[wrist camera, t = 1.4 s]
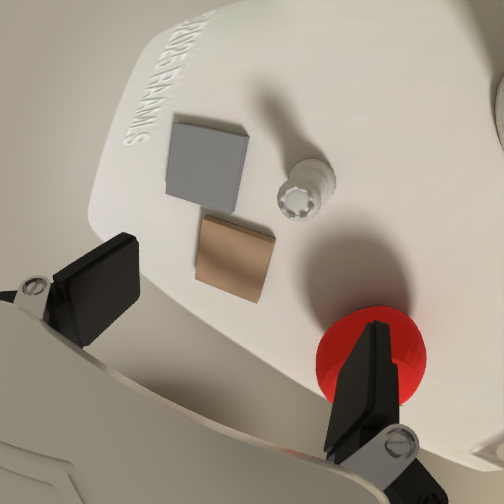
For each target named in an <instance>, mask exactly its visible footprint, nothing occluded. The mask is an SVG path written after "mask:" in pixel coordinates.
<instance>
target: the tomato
mask: <svg viewBox="0 0 504 504" xmlns="http://www.w3.org/2000/svg"><path fill="white" fill-rule="evenodd" d="M374 320H378V321H381V322H385V323H388V324H389V325H390V336H391V351H392V362H393V363H396V364H397V366H398V378H399V406H402V405H401V404H403V403H404V402H406V401H407V400H408V399H409V398H410V397H411V396H412V395H413V394H414V392H415V391H416V389H417V388H418V386H419V384H420V382H421V380H422V377H423V375H424V372H425V368H426V359H427V357H426V348H425V345H424V342H423V339H422V336H421V333H420V331H419V330H418V328H417V326H416V324H415V323H414V322H413V320H412V319H411V318H410V317H408V316H407V315H406V314H405V313H403V312H401V311H399V310H397V309H395V308H392V307H387V306H374V307H369V308H364V309H361V310H358V311H355V312H353V313H351V314H349V315H347V316H345V317H344V318H342V319H340V320H339V321H337V322H336V323H335V324H333V325H332V326H331V327H330V328H329V329H328V330H327V331H326V333H325V334H324V336H323V337H322V339H321V340H320V343H319V346H318V350H317V354H316V375H317V380H318V385H319V387H320V389H321V391H322V392H323V394H324V395H325V397H326V398H327V399H328V401H329V402H331V403H332V404H333V400H334V395H335V389H336V383H337V377H338V374H339V371H340V369H341V367H342V366H343V364H344V362H345V361H346V359H347V358H348V356H349V354H350V352H351V351H352V349H353V347H354V346H355V344H356V342H357V340H358V339H359V337H360V335H361V333H362V331H363V330H364V328H365V326H366V324H367V323H368V322H371V323H372V322H373V321H374Z"/></svg>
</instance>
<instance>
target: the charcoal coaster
mask: <svg viewBox="0 0 504 504" xmlns="http://www.w3.org/2000/svg"><path fill="white" fill-rule="evenodd" d="M248 141H249V136H245V135H240V134H236V133H232V132H227V131H222V130H218V129H213V128H208V127H202V126H197V125H192V124H186V123H174V125H173V132H172V139H171V147H170V155H169V164H168V173H167V183H166V194H168V195H171V196H174V197H177V198H181V199H184V200H187V201H190V202H193V203H196V204H199V205H203V206H206V207H209V208H212V209H215V210H218V211H221V212H224V213H227V214H231V213H232V212H234V211H235V206H236V201H237V196H238V191H239V185H240V180H241V175H242V170H243V165H244V160H245V156H246V151H247V146H248Z"/></svg>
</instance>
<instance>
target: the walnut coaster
mask: <svg viewBox="0 0 504 504" xmlns="http://www.w3.org/2000/svg"><path fill="white" fill-rule="evenodd" d="M275 241H276V238H273V237H270V236H267V235H264V234H261V233H258V232H255V231H252V230H249V229H247V228H244V227H241V226H238V225H235V224H232V223H229V222H226V221H223V220H220V219H217V218H214V217H211V216H208V215H207V216H206V217H204V218H203V219H202V225H201V233H200V241H199V249H198V257H197V265H196V274H195V279H196V280H199V281H201V282H204V283H206V284H209V285H211V286H213V287H216V288H218V289H221V290H223V291H226V292H228V293H231V294H233V295H236V296H238V297H241V298H243V299H246V300H248V301H251V302H254V303H256V304H257V302H258V300H259V298H260V296H261V292H262V288H263V285H264V281H265V278H266V274H267V270H268V267H269V263H270V259H271V256H272V252H273V248H274V245H275Z"/></svg>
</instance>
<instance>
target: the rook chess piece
mask: <svg viewBox="0 0 504 504" xmlns="http://www.w3.org/2000/svg"><path fill="white" fill-rule="evenodd" d="M335 188H336V177H335V175H334V172H333V170H332V168H331V167H329V166H328V165H327V164H326V163H325V162H323V161H321V160H318V159H305V160H302V161H300V162H298V163H297V164H296V165H295V166H294V167H293V169H292V170H291V171H290V174H289V177H288V181H286V182H285V183H284V184H283V185H282V186H281V187H280V189H279V192H278V195H277V200H278V206H279V208H280V210H281V212H282V213H283V214H284V215H285V216H287V217H288V218H289V219H291V220H294V221H307V220H310V219H312V218H313V217H314V216H315V215H316V214H317V213H318V212H319V210H320V207H321V205H322V204H325V203H326V202H327V201H328V200H329V199H330V198H331V197H332V195H333V194H334V191H335Z"/></svg>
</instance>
